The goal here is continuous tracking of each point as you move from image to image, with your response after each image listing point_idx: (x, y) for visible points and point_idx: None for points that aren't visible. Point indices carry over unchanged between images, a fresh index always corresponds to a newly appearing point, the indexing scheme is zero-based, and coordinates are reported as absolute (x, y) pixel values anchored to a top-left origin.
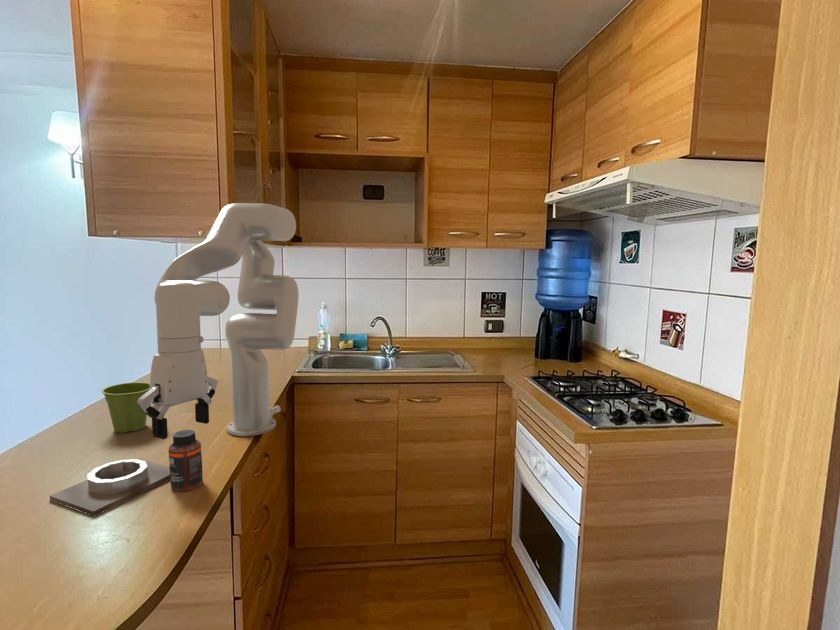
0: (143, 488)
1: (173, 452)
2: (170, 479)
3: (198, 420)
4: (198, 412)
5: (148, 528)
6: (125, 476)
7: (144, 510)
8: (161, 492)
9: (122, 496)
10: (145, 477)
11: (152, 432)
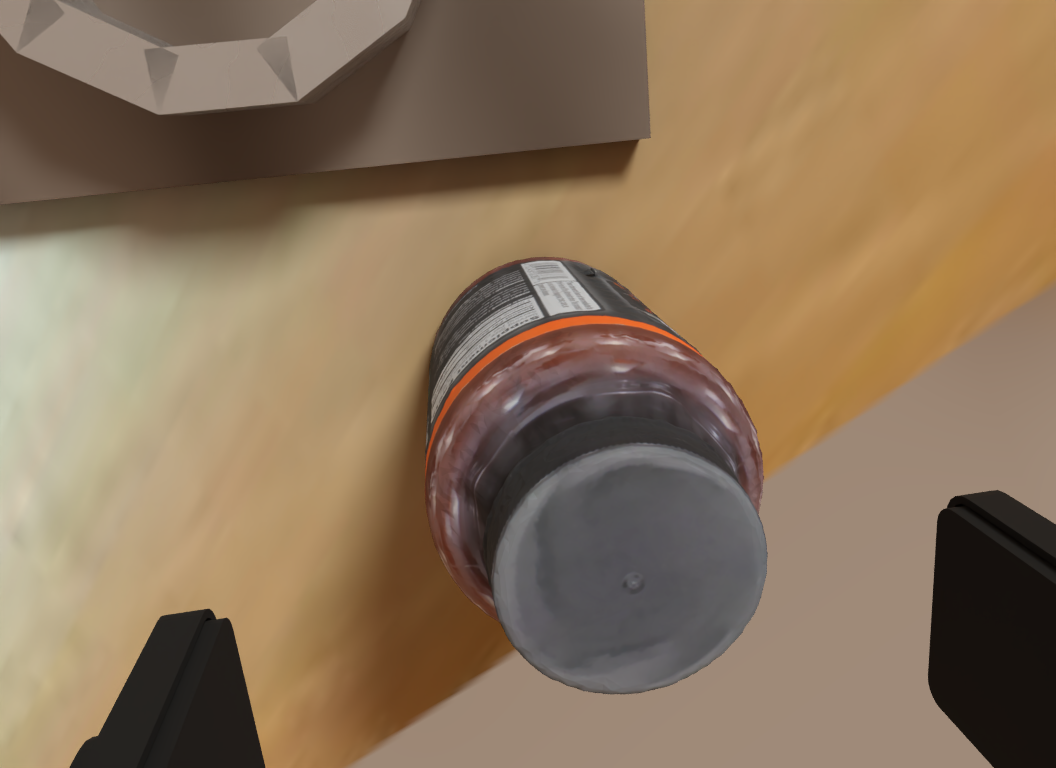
0: (293, 173)
1: (432, 533)
2: (437, 345)
3: (950, 575)
4: (1048, 663)
5: (91, 639)
6: (155, 54)
7: (173, 429)
8: (378, 292)
9: (111, 175)
10: (367, 60)
11: (86, 742)
